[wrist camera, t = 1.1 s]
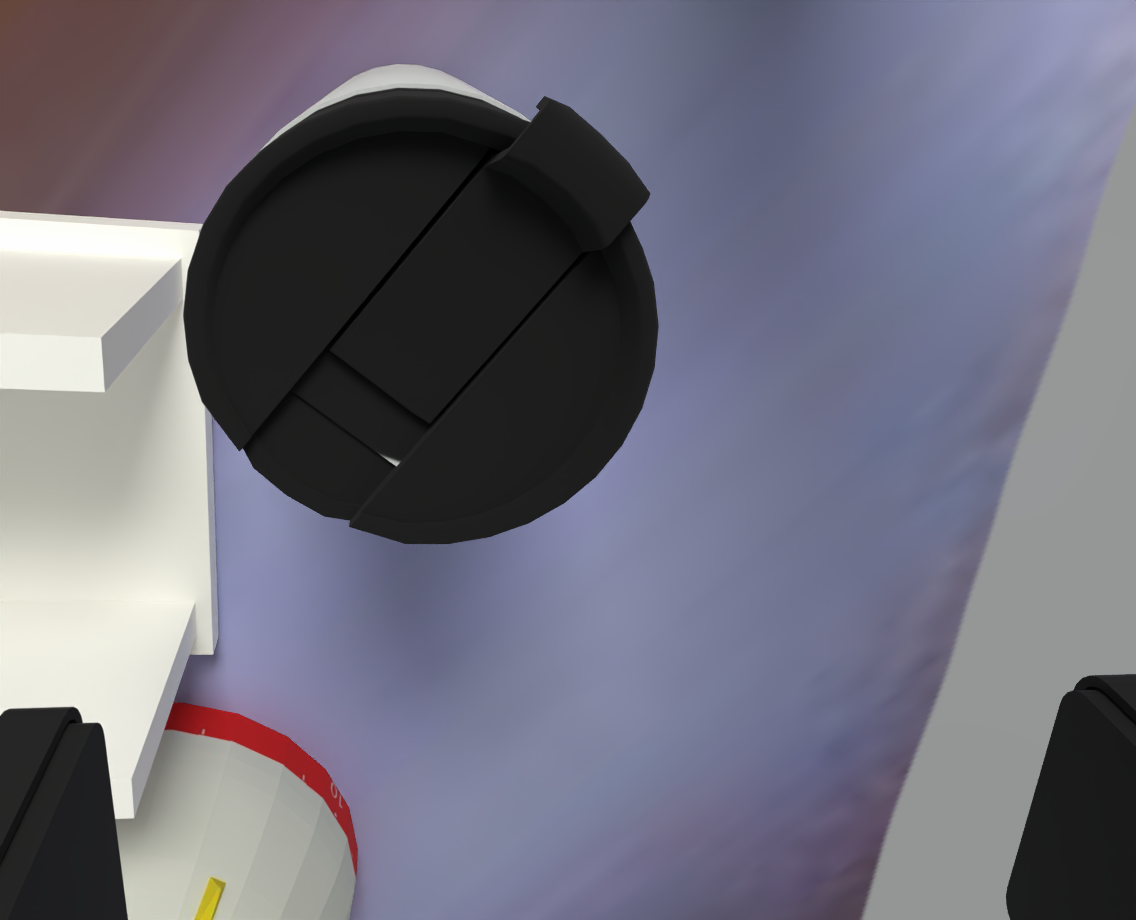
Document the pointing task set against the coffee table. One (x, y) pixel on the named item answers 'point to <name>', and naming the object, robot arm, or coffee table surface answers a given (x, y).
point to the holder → (102, 480)
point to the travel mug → (425, 307)
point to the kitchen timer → (236, 827)
